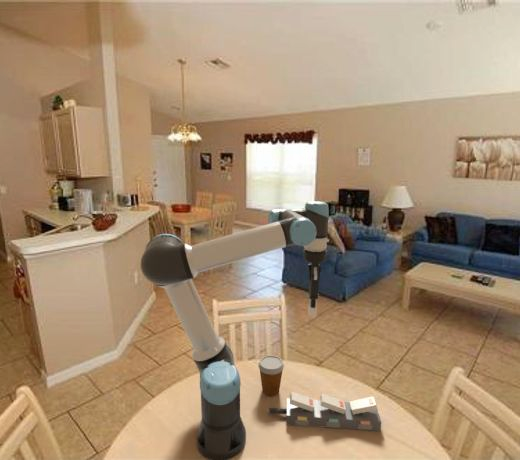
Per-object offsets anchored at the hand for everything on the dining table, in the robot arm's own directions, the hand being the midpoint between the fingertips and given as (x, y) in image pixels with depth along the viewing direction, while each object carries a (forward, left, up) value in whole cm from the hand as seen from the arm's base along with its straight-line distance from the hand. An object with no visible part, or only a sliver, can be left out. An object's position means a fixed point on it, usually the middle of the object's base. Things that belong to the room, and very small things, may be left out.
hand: (312, 314), depth 118 cm
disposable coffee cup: (-14, +2, -33) cm, 36 cm away
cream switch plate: (+7, -10, -27) cm, 29 cm away
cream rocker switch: (+17, -10, -27) cm, 33 cm away
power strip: (+4, -10, -32) cm, 34 cm away
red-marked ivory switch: (-3, -10, -27) cm, 29 cm away
